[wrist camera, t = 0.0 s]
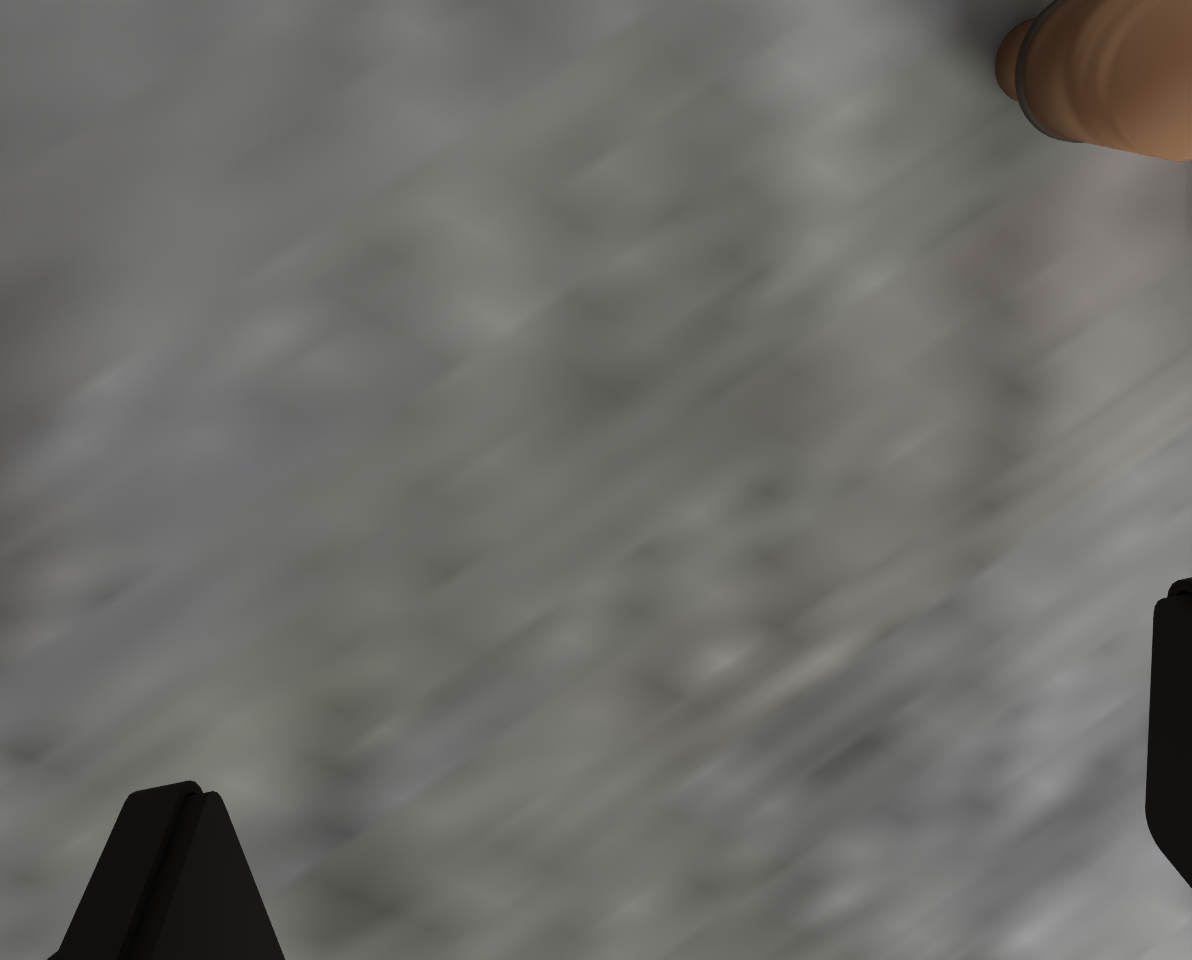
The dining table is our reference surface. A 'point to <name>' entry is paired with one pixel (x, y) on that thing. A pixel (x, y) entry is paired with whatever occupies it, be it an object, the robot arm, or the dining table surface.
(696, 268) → the dining table surface
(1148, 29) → the peg
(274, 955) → the robot arm
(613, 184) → the dining table surface
